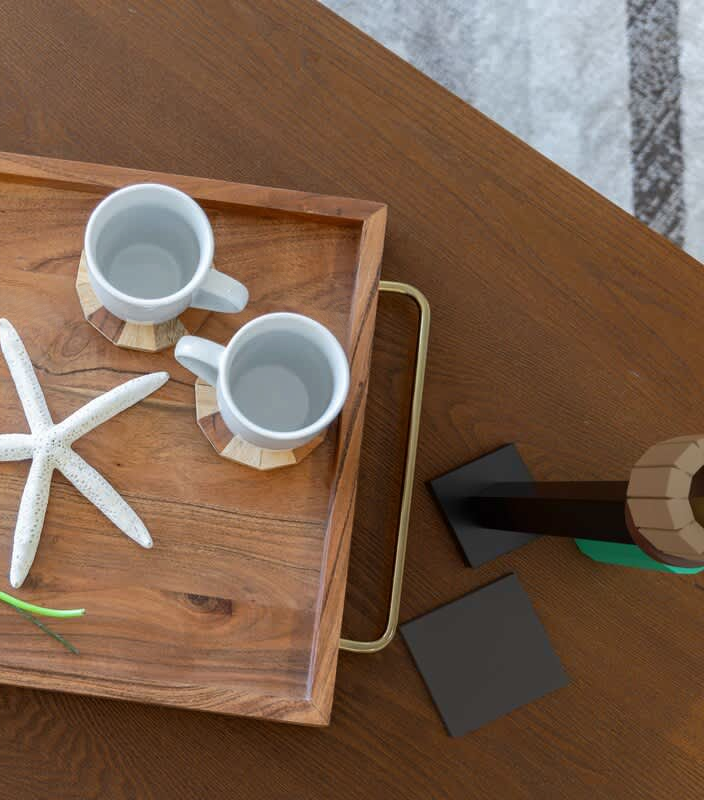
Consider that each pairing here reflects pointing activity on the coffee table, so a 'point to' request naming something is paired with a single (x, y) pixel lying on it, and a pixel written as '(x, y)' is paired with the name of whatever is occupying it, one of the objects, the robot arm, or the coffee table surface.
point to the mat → (483, 655)
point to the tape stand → (538, 509)
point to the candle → (626, 556)
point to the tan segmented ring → (668, 496)
